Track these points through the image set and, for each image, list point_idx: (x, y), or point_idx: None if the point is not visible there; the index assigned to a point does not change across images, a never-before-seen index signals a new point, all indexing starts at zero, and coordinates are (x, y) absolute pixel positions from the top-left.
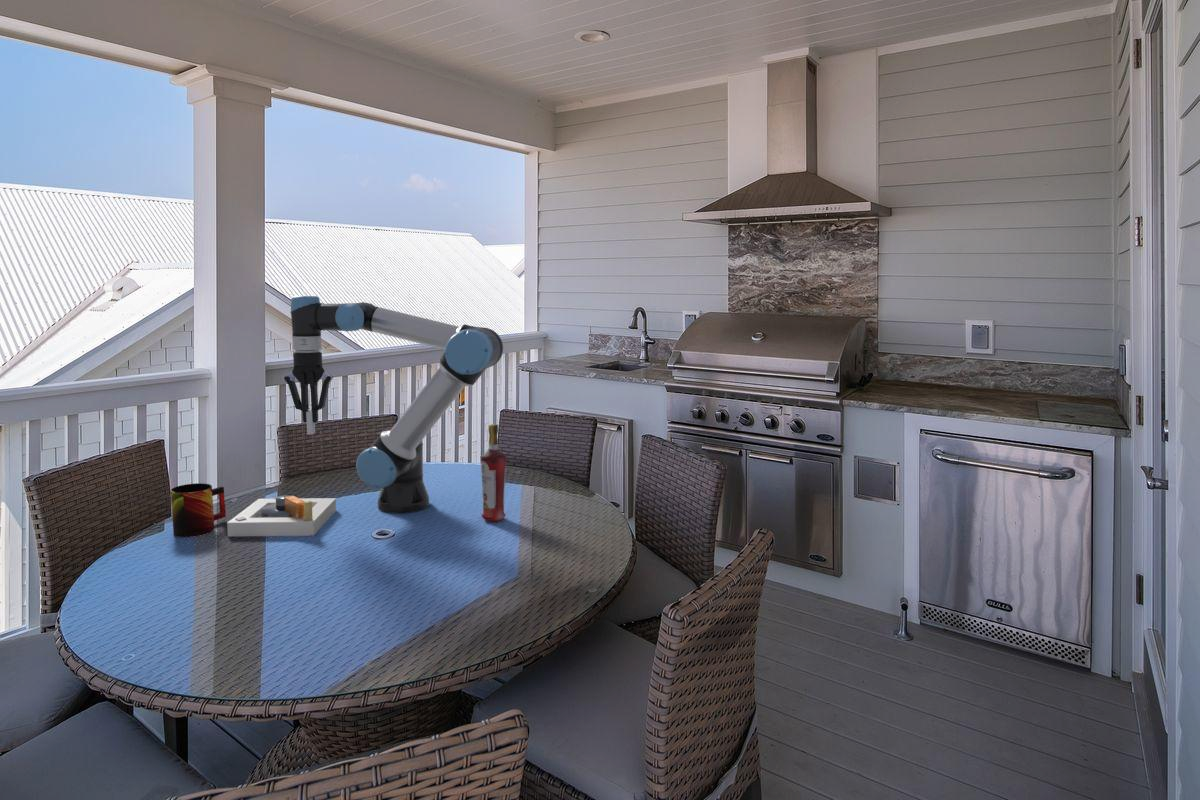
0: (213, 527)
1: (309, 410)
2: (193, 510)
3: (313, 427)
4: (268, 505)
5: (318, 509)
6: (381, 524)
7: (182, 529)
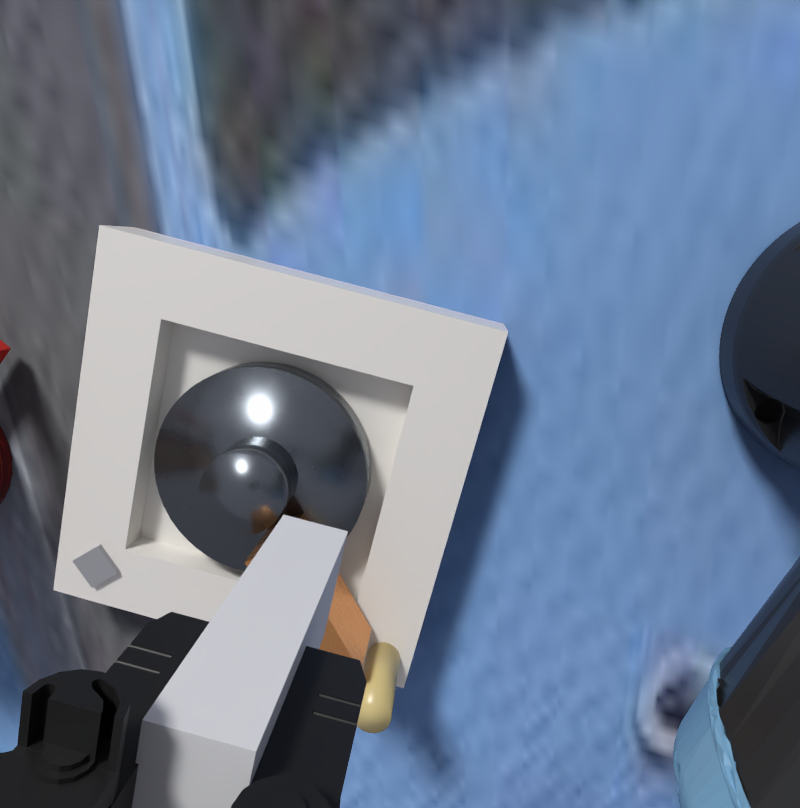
0: (3, 468)
1: (154, 734)
2: None
3: (315, 642)
4: (175, 408)
5: (420, 515)
6: (695, 597)
7: None
